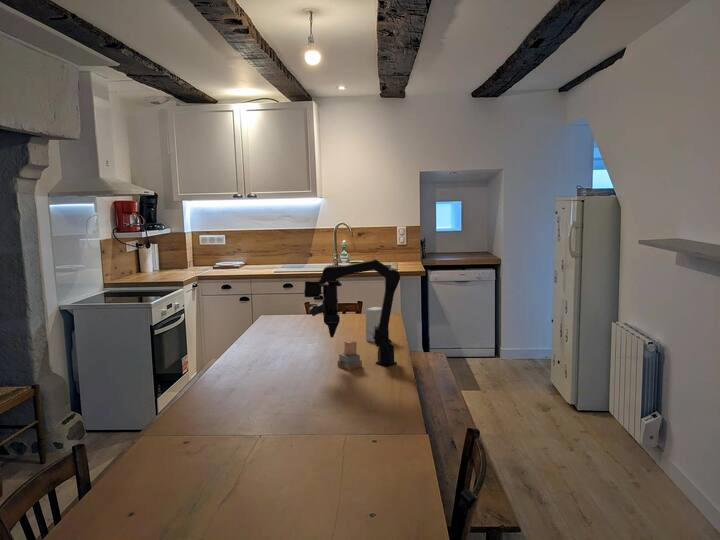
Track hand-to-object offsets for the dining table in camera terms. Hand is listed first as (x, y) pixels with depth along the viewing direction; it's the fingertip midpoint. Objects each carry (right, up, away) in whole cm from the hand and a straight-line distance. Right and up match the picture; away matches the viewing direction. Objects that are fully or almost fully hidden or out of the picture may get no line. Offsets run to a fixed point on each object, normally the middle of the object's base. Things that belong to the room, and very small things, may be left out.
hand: (331, 334), depth 221 cm
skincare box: (+19, -8, +39) cm, 44 cm away
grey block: (+7, -11, -1) cm, 13 cm away
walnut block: (+8, -13, 0) cm, 15 cm away
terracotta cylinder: (+8, -8, -1) cm, 11 cm away
